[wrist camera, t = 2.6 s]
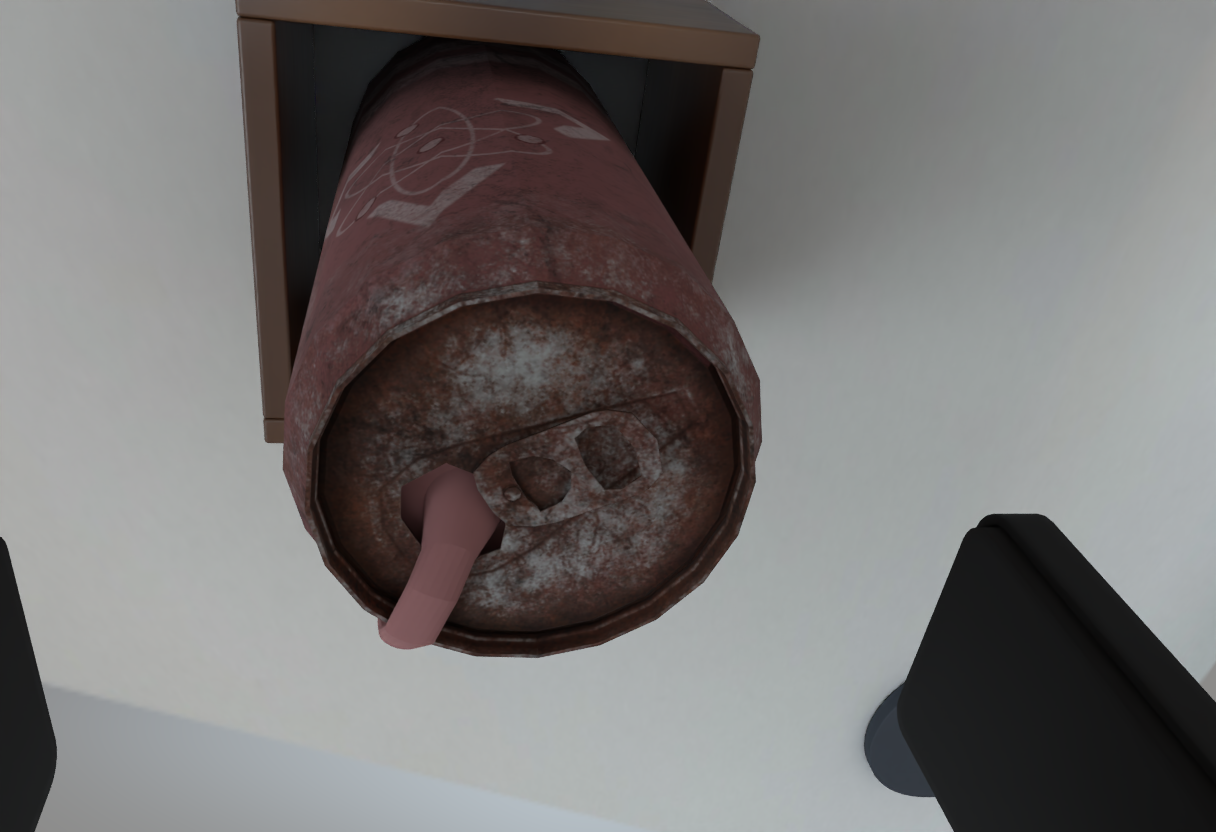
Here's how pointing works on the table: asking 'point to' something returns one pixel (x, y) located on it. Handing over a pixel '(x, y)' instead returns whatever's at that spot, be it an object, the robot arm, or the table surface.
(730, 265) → the table surface
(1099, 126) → the table surface
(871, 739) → the coaster
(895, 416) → the table surface
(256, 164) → the holder
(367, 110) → the can
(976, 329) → the table surface
